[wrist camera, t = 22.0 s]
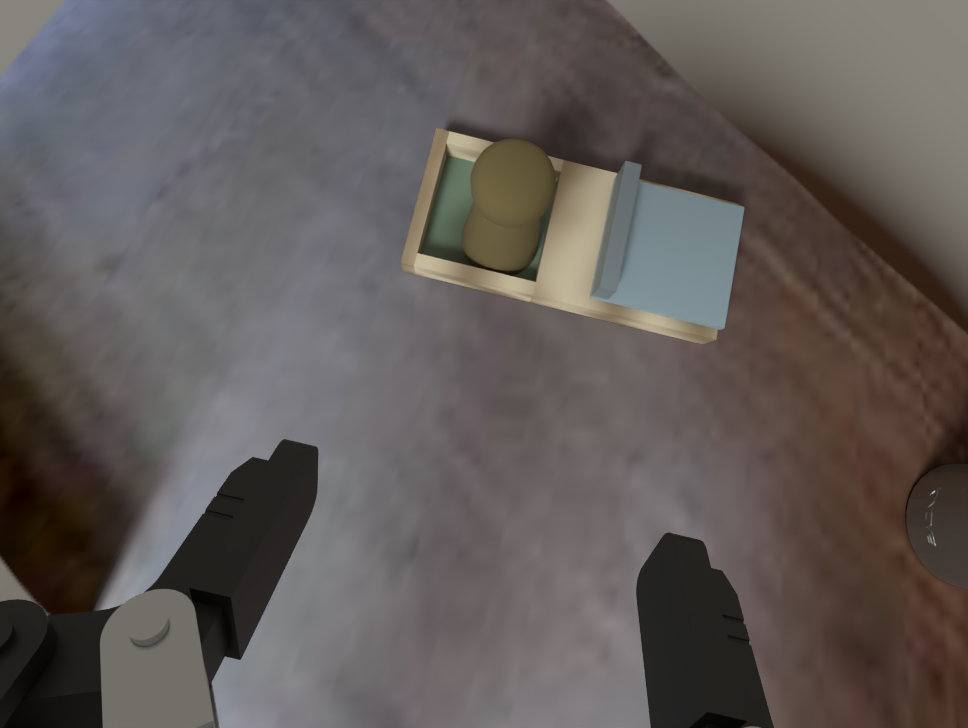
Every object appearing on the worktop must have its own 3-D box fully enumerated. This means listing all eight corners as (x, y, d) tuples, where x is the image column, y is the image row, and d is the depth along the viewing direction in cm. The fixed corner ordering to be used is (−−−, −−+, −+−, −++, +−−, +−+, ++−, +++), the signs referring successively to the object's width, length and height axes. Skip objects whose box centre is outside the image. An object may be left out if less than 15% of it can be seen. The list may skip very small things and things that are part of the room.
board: (725, 214, 43) (738, 203, 41) (703, 344, 42) (716, 339, 40) (437, 142, 43) (436, 128, 41) (403, 271, 41) (400, 262, 39)
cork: (466, 198, 42) (471, 113, 31) (543, 209, 42) (573, 129, 31) (456, 271, 41) (456, 210, 30) (533, 283, 41) (562, 226, 30)
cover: (740, 210, 41) (760, 194, 38) (720, 329, 39) (739, 321, 37) (614, 179, 41) (625, 160, 38) (589, 297, 39) (599, 287, 37)
